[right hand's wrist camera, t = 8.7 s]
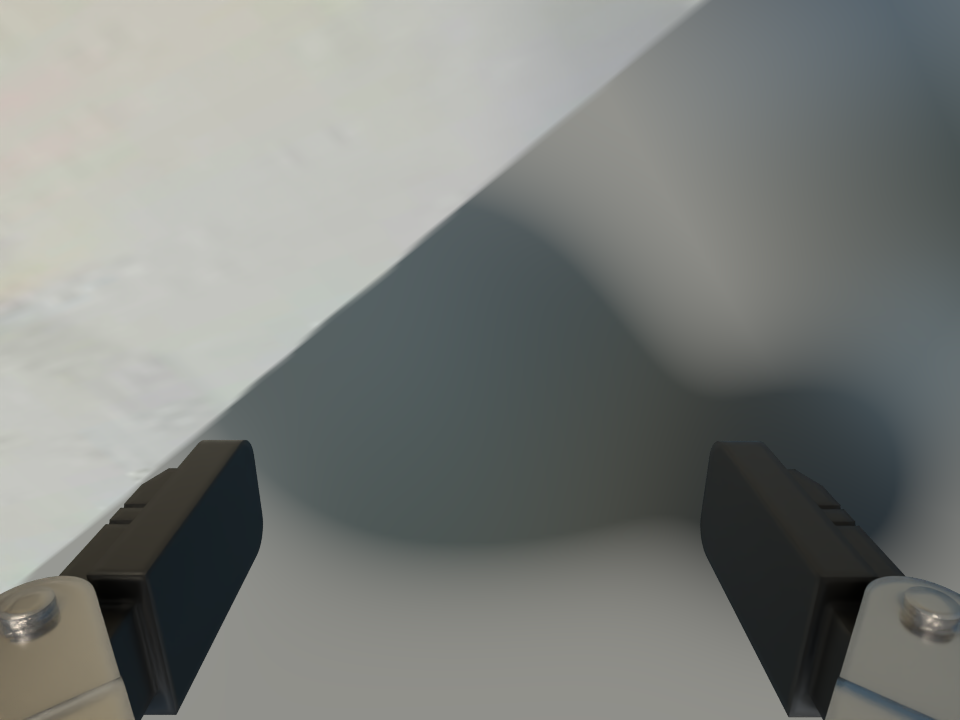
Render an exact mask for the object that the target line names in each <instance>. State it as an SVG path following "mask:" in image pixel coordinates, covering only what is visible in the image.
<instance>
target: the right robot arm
mask: <svg viewBox="0 0 960 720" xmlns="http://www.w3.org/2000/svg"><path fill="white" fill-rule="evenodd" d="M700 528H701V539H702V544H703V548H704V551H705V554H706V556H707V558H708V560H709V562H710V564H711V566H712V568H713V570H714V572H715V574H716V576H717V578H718V580H719V582H720V584H721V586H722V588H723V590H724V591H725V594H726V596H727V598H728V599H729V601H730V603H731V605H732V607H733V609H734V611H735V613H736V615H737V617H738V619H739V621H740V623H741V625H742V627H743V629H744V631H745V633H746V635H747V637H748V639H749V641H750V642H751V644H752V646H753V648H754V650H755V652H756V654H757V656H758V658H759V660H760V662H761V664H762V666H763V668H764V670H765V672H766V674H767V676H768V678H769V680H770V682H771V684H772V686H773V688H774V689H775V691H776V693H777V695H778V697H779V699H780V701H781V703H782V705H783V707H784V709H785V711H786V713H787V715H788V717H822V719H823V720H960V594H958V593H956V592H954V591H952V590H950V589H948V588H946V587H943V586H941V585H938V584H935V583H932V582H929V581H926V580H922V579H918V578H913V577H906V576H905V575H904V574H903V573H902V572H901V571H900V570H899V569H898V568H897V567H896V565H895V564H894V563H893V562H892V561H891V560H890V559H889V558H888V557H887V556H886V555H885V553H884V552H883V551H882V550H881V549H880V548H879V547H878V546H877V545H876V544H875V543H874V542H873V540H872V539H871V538H870V537H869V536H868V535H867V534H866V533H865V532H864V531H863V530H862V528H861V527H860V526H856V525H855V521H854V520H853V519H852V518H851V516H850V515H849V514H848V513H847V512H846V511H845V510H844V509H841V508H840V504H839V503H838V502H837V501H836V500H835V499H834V498H833V497H832V496H831V495H830V494H829V493H828V491H827V490H826V489H825V488H824V487H823V486H822V485H820V484H818V483H817V482H815V481H813V480H812V479H810V478H808V477H807V476H805V475H803V474H802V473H800V472H798V471H797V470H795V469H786V468H785V467H784V465H783V464H782V463H781V462H780V461H779V460H778V458H777V457H776V456H775V455H774V454H773V453H772V451H771V450H770V449H769V448H768V447H767V446H766V445H765V444H764V443H763V442H761V441H717V442H715V443H714V444H713V446H712V448H711V452H710V457H709V464H708V471H707V478H706V485H705V492H704V499H703V506H702V513H701V523H700ZM262 531H263V517H262V509H261V502H260V495H259V488H258V481H257V474H256V467H255V460H254V454H253V449H252V446H251V444H250V443H249V442H248V441H247V440H203V441H201V442H199V443H198V445H197V446H196V447H195V448H194V449H193V450H192V452H191V453H190V454H189V455H188V456H187V457H186V459H185V460H184V461H183V462H182V463H181V465H180V466H179V467H178V468H169V469H167V470H165V471H164V472H162V473H160V474H159V475H157V476H155V477H154V478H152V479H150V480H149V481H147V482H145V483H144V484H142V485H141V486H140V487H139V488H138V489H137V490H136V492H135V493H134V494H133V495H132V496H131V497H130V498H129V499H128V500H127V502H126V503H125V504H124V508H120V509H119V510H118V511H117V512H116V514H115V515H114V516H113V517H112V518H111V519H110V523H109V524H106V525H105V526H104V527H103V528H102V529H101V530H100V531H99V532H98V533H97V534H96V536H95V537H94V538H93V539H92V540H91V541H90V542H89V543H88V544H87V545H86V546H85V548H84V549H83V550H82V551H81V552H80V553H79V554H78V555H77V556H76V557H75V559H74V560H73V561H72V562H71V563H70V564H69V565H68V566H67V567H66V569H65V570H64V571H63V572H62V573H61V574H60V575H59V576H55V577H47V578H43V579H38V580H34V581H31V582H28V583H25V584H22V585H19V586H17V587H14V588H12V589H10V590H8V591H6V592H4V593H2V594H0V720H141V718H142V717H143V715H176V714H177V712H178V710H179V708H180V706H181V704H182V703H183V701H184V699H185V696H186V695H187V692H188V691H189V689H190V687H191V685H192V683H193V681H194V679H195V677H196V675H197V673H198V671H199V669H200V667H201V665H202V663H203V661H204V659H205V657H206V655H207V653H208V651H209V649H210V647H211V645H212V643H213V641H214V639H215V637H216V635H217V633H218V631H219V629H220V627H221V625H222V623H223V621H224V619H225V617H226V615H227V613H228V611H229V609H230V607H231V605H232V603H233V601H234V599H235V598H236V595H237V594H238V592H239V590H240V588H241V586H242V584H243V582H244V580H245V578H246V576H247V574H248V572H249V570H250V568H251V566H252V564H253V562H254V560H255V558H256V556H257V554H258V551H259V548H260V544H261V540H262Z"/></svg>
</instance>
